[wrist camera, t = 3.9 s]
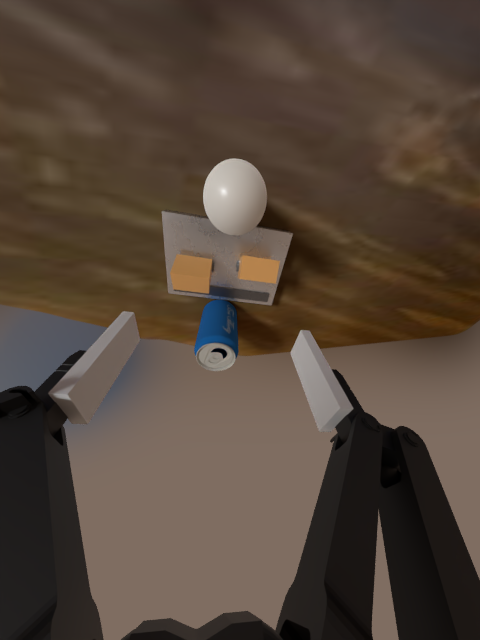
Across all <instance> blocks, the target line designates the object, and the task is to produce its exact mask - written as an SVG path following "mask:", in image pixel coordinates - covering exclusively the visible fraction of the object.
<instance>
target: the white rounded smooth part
mask: <svg viewBox="0 0 480 640" xmlns="http://www.w3.org/2000/svg"><path fill="white" fill-rule="evenodd" d="M203 201H204V207H205V211H206V213H207V216H208V218H209V219H210V221H211V222H212V224H213V225H214V226H215V227H216V228H217V229H219V230H220V231H221V232H223V233H226V234H229V235H243V234H246V233H248V232H250V231H251V230H252V229H254V228H255V227H256V226H257V225H258V223H259V222H260V221H261V219H262V217H263V215H264V212H265V209H266V204H267V191H266V186H265V183H264V180H263V178H262V176H261V174H260V173H259V171H258V170H257V169H256V168H255V167H254V166H253V165H252V164H250V163H249V162H247V161H245V160H241V159H228V160H225V161H222V162H221V163H219V164H218V165H217V166H215V167H214V168H213V170H212V171H211V172H210V174H209V175H208V177H207V180H206V182H205V186H204V192H203Z"/></svg>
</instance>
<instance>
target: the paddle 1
mask: <svg viewBox="0 0 480 640" xmlns="http://www.w3.org/2000/svg"><path fill="white" fill-rule="evenodd" d="M212 272H214V263H212V259H208V258H201V257H194V256H187V255H180V254H177V255H176V258H175V261H174V263H173V266H172V269H171V272H170V275H171V280H172V285H173V289H175V290H183V291H191V292H200V293H208V294H209V289H210V283H211V277H212Z"/></svg>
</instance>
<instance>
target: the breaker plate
mask: <svg viewBox="0 0 480 640" xmlns="http://www.w3.org/2000/svg"><path fill="white" fill-rule="evenodd" d="M162 221H163V233H164V246H165V258H166V270H167V282H168V293H172V294H180V295H188V296H197V297H205V298H214V299H222V300H231V301H239V302H248V303H256V304H264V305H272V302H273V299H274V295H275V292H276V289H277V285H278V282H279V279H280V275H281V272H282V269H283V265H284V262H285V259H286V255H287V252H288V249H289V246H290V242H291V239H292V236H293V233H292V232H290V231H286V230H281V229H275V228H269V227H263V226H256V227H255V228H254V229H252V230H251V231H250V232H248V233H246V234H243V235H229V234H226V233H223V232H221V231H220V230H219V229H217V228H216V227H215V226H214V225H213V224H212V222H211V221H210V219H209V218H208V217H206V216H200V215H194V214H188V213H183V212H177V211H171V210H163V211H162ZM177 254H180V255H187V256H194V257H201V258H208V259H212V263H214V272H212V277H211V283H210V289H209V294H208V293H200V292H191V291H183V290H175V289H173V285H172V280H171V275H170V272H171V269H172V266H173V263H174V261H175V258H176V255H177ZM243 255H244V256H251V257H257V258H264V259H271V260H277V261H280V263H279V269H278V274H277V280H276V284H274V283H266V282H259V281H251V280H244V279H239V278H237V277H238V272H237V271H236V267H237V263H239V261H240V257H241V256H243Z"/></svg>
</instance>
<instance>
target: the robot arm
mask: <svg viewBox="0 0 480 640" xmlns="http://www.w3.org/2000/svg"><path fill="white" fill-rule="evenodd" d="M139 341H140V337H139V333H138V328H137V323H136V319H135V314H134V312H124V311H123V312H122V313H121V314H120V315H119V317H118V318H117V319H116V320H115V321H114V322H113V323H112V324H111V325H110V326H109V327H108V329H107V330H106V331H105V332H104V333H103V334H102V335H101V336H100V337H99V338H98V339H97V341H96V342H95V343H94V344H93V345H92V346H91V347H90V348H89V349H88V350H87V351H82V350H80V351H78V352H76V353H74V354H73V355H71V356H70V357H69V358H67V359H66V361H65V362H64V363H63V364H62V365H61V366H60V367H59V368H58V369H57V370H56V372H54V373H53V374H52V375H51V376H50V377H49V378H48V379H47V380H46V381H45V382H44V383H43V384H42V385H41V386H40V387H39V388H38V389H37V390H36V391H35V392H34V391H33V390H32V389H31V388H30V387H27V386H17V387H13V388H9V389H7V390H5V391H3V392H0V640H103V634H102V628H101V622H100V617H99V613H98V609H97V606H96V604H95V602H94V600H93V599H92V596H91V592H90V587H89V581H88V575H87V568H86V562H85V555H84V549H83V543H82V537H81V530H80V524H79V517H78V512H77V505H76V499H75V492H74V486H73V480H72V474H71V468H70V461H69V454H68V448H67V442H66V435H65V429H64V427H63V424H64V422H65V421H66V420H67V418H68V419H69V421H70V422H71V423H72V424H88V423H89V422H90V420H91V418H92V417H93V415H94V413H95V412H96V410H97V409H98V407H99V405H100V404H101V402H102V401H103V399H104V397H105V396H106V394H107V392H108V391H109V389H110V388H111V386H112V385H113V383H114V381H115V380H116V378H117V376H118V375H119V373H120V372H121V370H122V368H123V367H124V365H125V363H126V362H127V360H128V359H129V357H130V356H131V354H132V352H133V351H134V349H135V347H136V346H137V344H138V343H139ZM291 356H292V359H293V362H294V364H295V367H296V370H297V372H298V375H299V378H300V381H301V383H302V386H303V389H304V391H305V394H306V397H307V399H308V402H309V405H310V408H311V410H312V413H313V416H314V419H315V421H316V424H317V427H318V430H319V431H320V432H331V431H332V430H333V429H334V428H336V430H337V432H338V433H337V434H336V435H335V436H334V437H333V438H332V439H331V441H330V442H333V441H334V443H333V447H332V450H331V454H330V458H329V461H328V464H327V468H326V471H325V475H324V479H323V482H322V486H321V489H320V493H319V496H318V500H317V503H316V507H315V510H314V514H313V517H312V521H311V525H310V528H309V532H308V535H307V539H306V543H305V546H304V550H303V553H302V556H301V560H300V563H299V567H298V570H297V574H296V577H295V580H294V582H293V584H292V585H291V587H290V588H289V590H288V593H287V595H286V597H285V600H284V603H283V606H282V610H281V613H280V617H279V620H278V623H277V627H276V630H274V629H272V628H271V627H270V626H268V625H267V624H266V623H264V622H263V621H262V620H261V619H259V618H258V617H256V616H255V615H253V614H251V613H250V612H248V611H244V612H233V613H223V614H222V615H220V616H218V617H217V618H215V619H213V620H212V621H210V622H208V623H207V624H205V625H203V626H202V627H200V628H198V629H194V628H191V627H189V626H187V625H185V624H182V623H180V622H178V621H176V620H173V619H171V618H169V619H158V620H147V621H143V622H142V623H141V624H140V625H139V626H138V627H137V628H136V629H134V630H133V631H131V632H130V633H129V634H127V635H126V636H125V637H123V638H122V639H121V640H373V637H372V609H373V608H372V607H373V592H374V575H375V558H376V557H375V556H376V541H377V524H378V508H379V514H380V520H381V527H382V533H383V540H384V546H385V553H386V559H387V565H388V572H389V579H390V585H391V592H392V598H393V604H394V611H395V617H396V624H397V630H398V637H399V640H480V580H479V577H478V575H477V572H476V570H475V568H474V565H473V563H472V560H471V557H470V555H469V553H468V550H467V547H466V545H465V543H464V540H463V537H462V535H461V533H460V530H459V527H458V525H457V522H456V520H455V517H454V515H453V512H452V510H451V507H450V505H449V502H448V500H447V497H446V495H445V492H444V490H443V488H442V485H441V483H440V480H439V477H438V475H437V472H436V470H435V467H434V465H433V462H432V460H431V458H430V455H429V452H428V450H427V448H426V445H425V443H424V442H423V440H422V439H421V438H420V437H419V435H418V434H416V433H415V432H414V431H413V430H411V429H409V428H407V427H404V426H399V427H397V428H396V429H392V428H389V427H386V426H384V425H381V424H380V423H379V422H378V421H377V420H376V419H375V418H374V417H373V416H371V415H370V414H368V413H365V412H364V410H363V409H362V407H361V405H360V404H359V402H358V401H357V399H356V397H355V396H354V394H353V392H352V391H351V390H350V387H349V386H348V384H347V382H346V381H345V379H344V378H343V376H342V375H341V374H340V373H339V372H338V371H337V370H333V369H331V368H330V366H329V364H328V363H327V361H326V359H325V357H324V356H323V354H322V352H321V350H320V348H319V347H318V345H317V343H316V341H315V340H314V338H313V336H312V334H311V333H310V331H307V330H301V331H300V333H299V335H298V337H297V340H296V342H295V344H294V346H293V349H292V351H291Z"/></svg>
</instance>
